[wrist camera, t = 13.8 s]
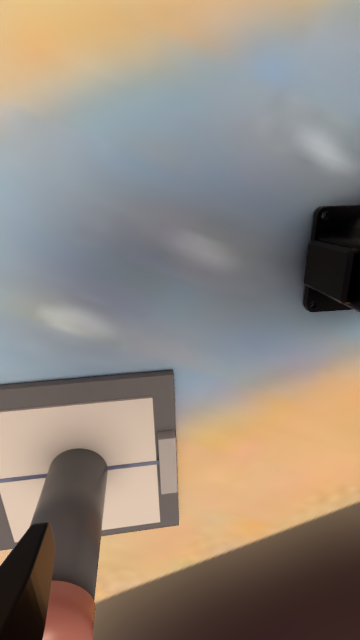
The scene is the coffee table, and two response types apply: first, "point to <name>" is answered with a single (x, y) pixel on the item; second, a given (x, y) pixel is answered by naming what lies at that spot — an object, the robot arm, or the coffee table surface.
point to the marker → (73, 540)
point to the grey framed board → (91, 447)
